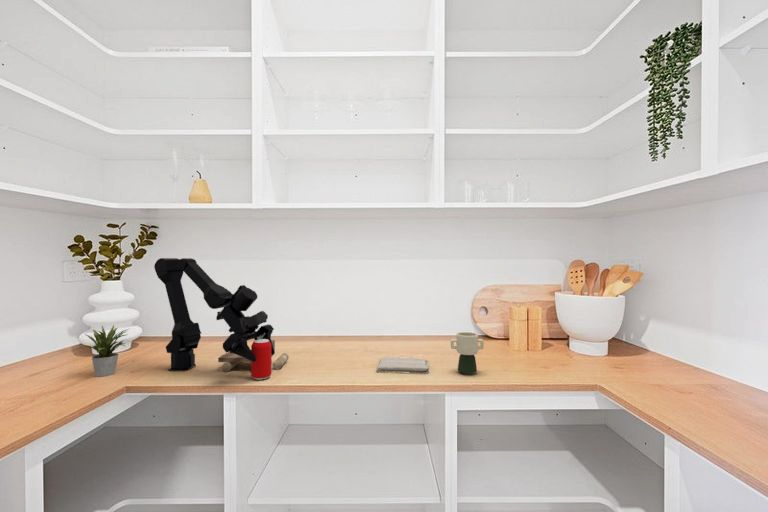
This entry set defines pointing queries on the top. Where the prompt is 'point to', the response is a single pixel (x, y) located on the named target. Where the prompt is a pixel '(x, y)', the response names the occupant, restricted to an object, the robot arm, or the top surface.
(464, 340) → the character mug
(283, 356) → the roller
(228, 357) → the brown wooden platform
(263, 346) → the beverage can
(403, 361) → the washcloth
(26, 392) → the top surface
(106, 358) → the house plant
